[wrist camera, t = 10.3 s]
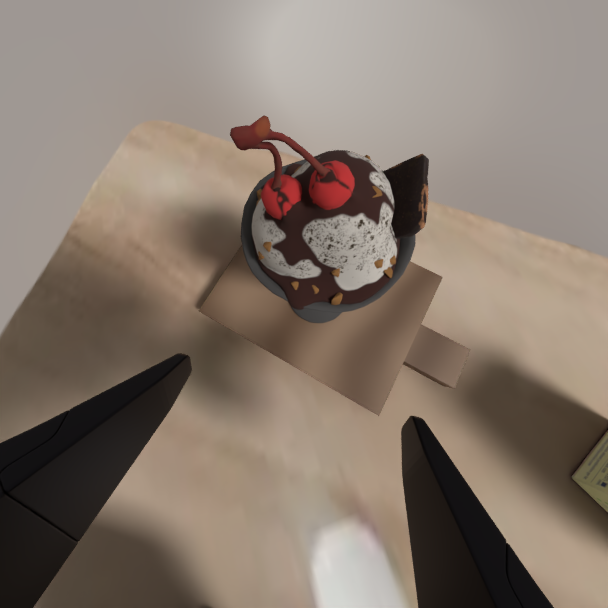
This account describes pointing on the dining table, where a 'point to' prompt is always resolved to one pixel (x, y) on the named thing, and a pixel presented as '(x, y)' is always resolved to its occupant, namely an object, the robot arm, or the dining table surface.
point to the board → (343, 334)
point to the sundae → (330, 225)
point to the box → (595, 473)
